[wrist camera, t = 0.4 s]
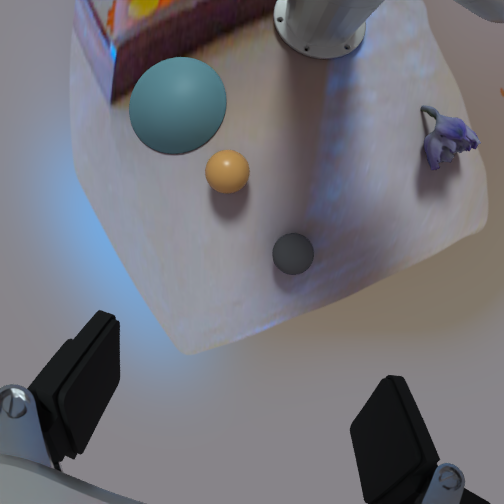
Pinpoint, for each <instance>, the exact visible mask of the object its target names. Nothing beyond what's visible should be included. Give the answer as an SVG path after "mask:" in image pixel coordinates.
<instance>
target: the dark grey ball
mask: <svg viewBox="0 0 504 504" xmlns="http://www.w3.org/2000/svg"><path fill="white" fill-rule="evenodd" d="M313 257H314V251H313V247H312V244H311V243H310V241H309V240H308V239H307V238H306V237H304V236H302V235H300V234H296V233H290V234H286V235H284V236H282V237H281V238H279V239H278V241H277V242H276V243H275V245H274V248H273V260H274V263H275V265H276V266H277V268H278V269H279V270H281V271H282V272H284V273H286V274H290V275H296V274H300V273H303V272H304V271H306V270H307V269H308V268H309V267H310V265H311V264H312V261H313Z"/></svg>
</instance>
